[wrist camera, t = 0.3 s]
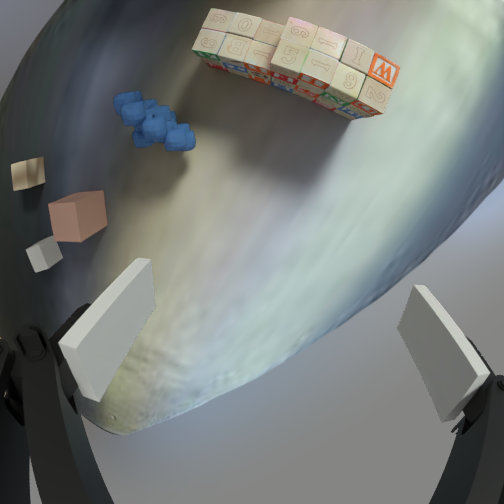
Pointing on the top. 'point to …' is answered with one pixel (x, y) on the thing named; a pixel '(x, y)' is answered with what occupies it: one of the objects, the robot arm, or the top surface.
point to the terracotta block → (78, 216)
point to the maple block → (28, 173)
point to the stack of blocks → (299, 61)
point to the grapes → (153, 123)
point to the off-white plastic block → (44, 254)
